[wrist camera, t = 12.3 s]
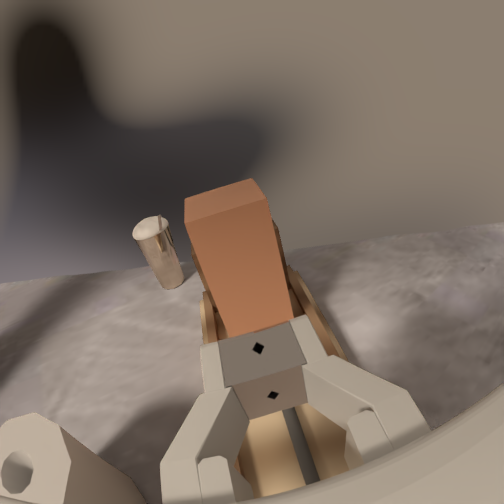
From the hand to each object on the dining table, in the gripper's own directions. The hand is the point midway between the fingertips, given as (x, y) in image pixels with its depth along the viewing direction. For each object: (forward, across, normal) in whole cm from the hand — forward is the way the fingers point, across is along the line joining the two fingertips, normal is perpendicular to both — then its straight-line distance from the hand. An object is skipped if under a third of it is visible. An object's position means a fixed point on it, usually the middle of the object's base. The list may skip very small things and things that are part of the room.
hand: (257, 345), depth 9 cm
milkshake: (+28, +8, +15) cm, 33 cm away
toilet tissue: (-2, +16, +15) cm, 22 cm away
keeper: (+15, -1, +13) cm, 20 cm away
